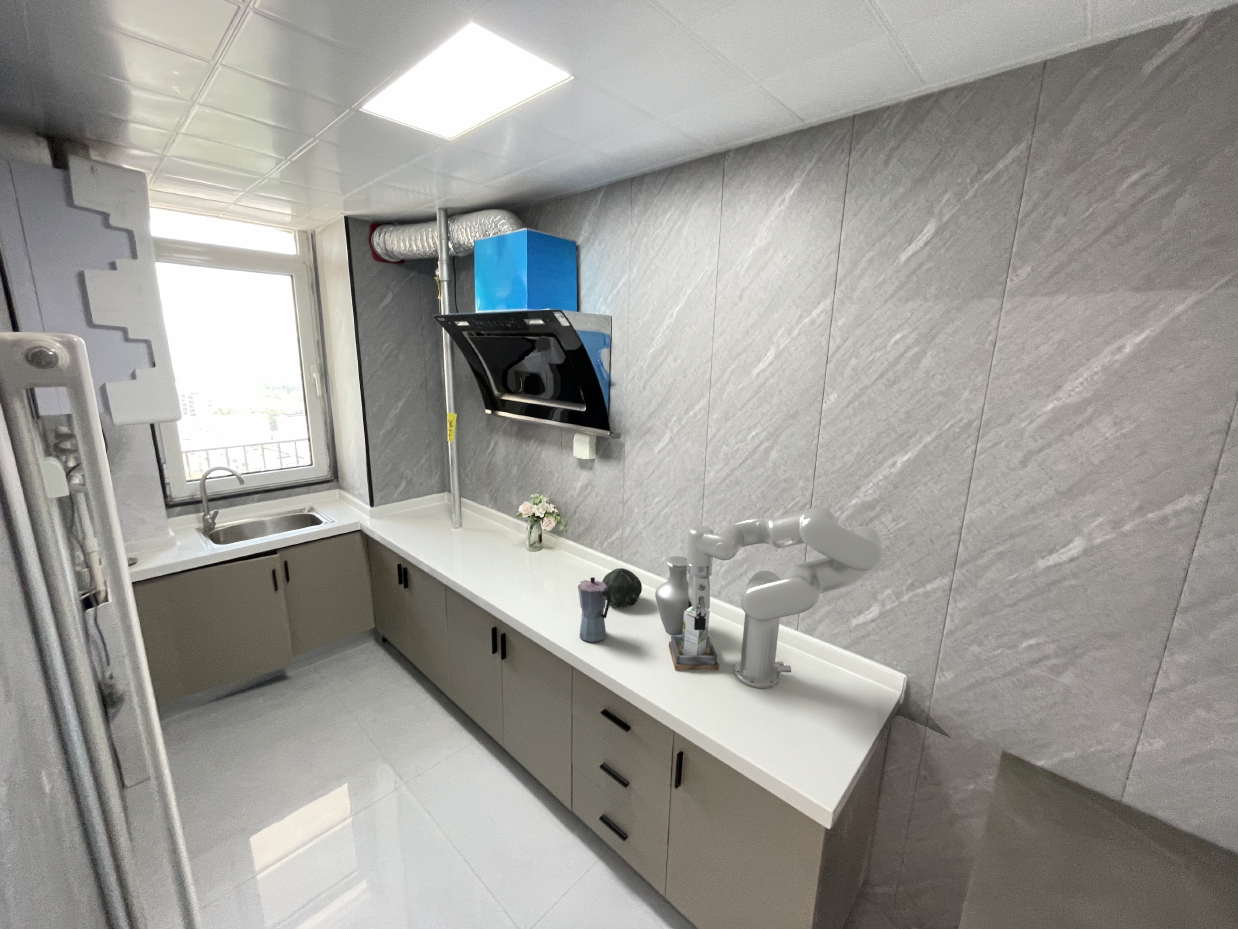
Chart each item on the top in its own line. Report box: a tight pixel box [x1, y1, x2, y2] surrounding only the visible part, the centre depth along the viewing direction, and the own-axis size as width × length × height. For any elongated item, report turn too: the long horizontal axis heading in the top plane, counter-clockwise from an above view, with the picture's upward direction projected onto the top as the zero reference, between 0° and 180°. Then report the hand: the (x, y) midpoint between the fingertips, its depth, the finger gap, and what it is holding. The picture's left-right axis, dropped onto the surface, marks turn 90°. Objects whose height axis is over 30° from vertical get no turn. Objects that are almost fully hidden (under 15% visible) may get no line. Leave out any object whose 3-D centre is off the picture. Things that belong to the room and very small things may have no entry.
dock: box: [668, 635, 720, 671], centre depth 157 cm, size 13×13×4 cm
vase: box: [654, 555, 689, 636], centre depth 170 cm, size 14×14×25 cm
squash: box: [601, 567, 643, 608], centre depth 190 cm, size 14×15×15 cm
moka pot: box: [577, 577, 611, 643], centre depth 165 cm, size 10×15×20 cm, turn 45°
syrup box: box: [681, 605, 711, 656], centre depth 155 cm, size 6×6×14 cm
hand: (696, 621), depth 154 cm, fingers open, 9 cm apart
